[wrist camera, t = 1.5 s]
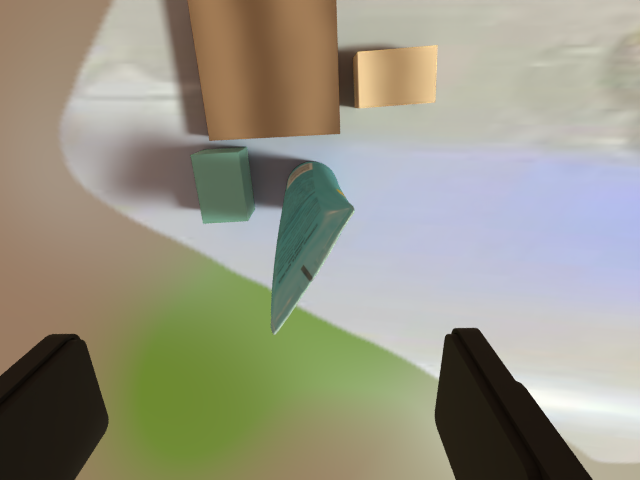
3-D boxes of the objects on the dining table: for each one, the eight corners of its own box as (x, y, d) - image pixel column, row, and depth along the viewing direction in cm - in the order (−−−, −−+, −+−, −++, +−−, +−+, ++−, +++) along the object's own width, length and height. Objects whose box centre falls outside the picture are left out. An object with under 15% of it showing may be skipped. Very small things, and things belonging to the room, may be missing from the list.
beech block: (422, 52, 30) (437, 45, 27) (421, 102, 32) (435, 102, 28) (352, 58, 30) (357, 51, 27) (354, 107, 32) (359, 108, 28)
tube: (318, 228, 36) (319, 353, 18) (274, 208, 35) (229, 318, 17) (352, 161, 33) (392, 228, 16) (306, 138, 33) (291, 181, 15)
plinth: (333, -12, 28) (335, -24, 26) (338, 131, 32) (340, 133, 30) (197, -4, 29) (185, -15, 26) (218, 137, 33) (209, 140, 30)
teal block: (204, 149, 33) (190, 155, 29) (247, 146, 33) (238, 152, 29) (215, 211, 35) (203, 223, 32) (255, 208, 35) (247, 221, 31)
